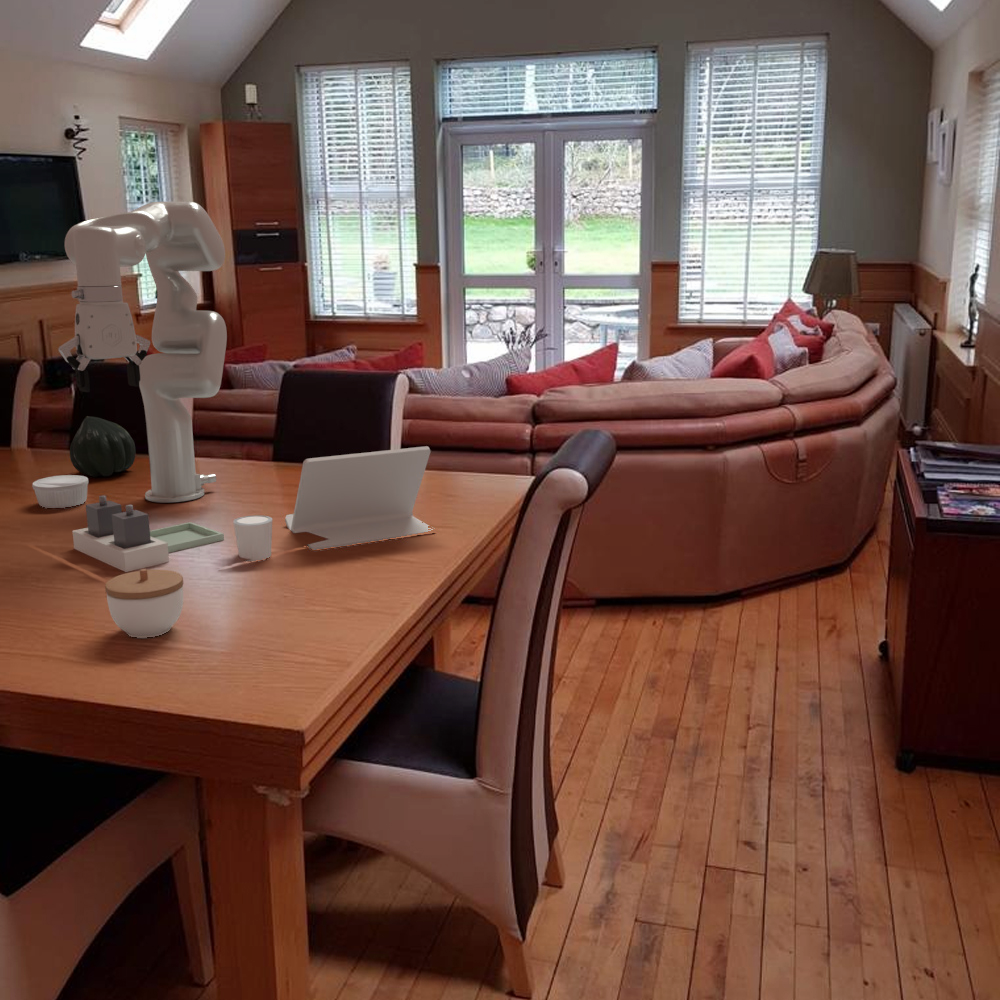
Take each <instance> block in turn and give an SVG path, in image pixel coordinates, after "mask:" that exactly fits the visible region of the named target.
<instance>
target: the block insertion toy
mask: <svg viewBox="0 0 1000 1000" xmlns="http://www.w3.org/2000/svg"><path fill="white" fill-rule="evenodd" d="M98 498H99V502H94V503H89V504H85V510H86V511H85V512H86V521H87V527H85V528H80V529H74V530H72V538H73V549H74V550H76V551H78V552H81V553H83V554H85V555H87V556H89V557H92V558H94V559H96V560H99V561H100V562H103V563H104V564H107V565H109V566H112V567H114V568H115V569H118V570H121V571H123V572H125V573H129V572H134V571H138V570H141V569H146V568H149V567H153V566H157V565H161V564H166V563H169V562H170V558H169V557H170V555H169V553H168V543H166V542H164V541H161V540H159V539H156V538H153V537H151V536H150V539H151V543H149V544H145V545H140V546H136V547H131V548H127V549H123V548H121V547H118V546H116V545H115V543H114V533H113V523H112V514H117V513H122V504H120V503H117V502H115V501H112V500H107V495H104V494H103V495H99V496H98Z"/></svg>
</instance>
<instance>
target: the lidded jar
mask: <svg viewBox="0 0 1000 1000" xmlns="http://www.w3.org/2000/svg"><path fill="white" fill-rule="evenodd" d="M104 585H105V586H104V587H105V588H104V589H105V594H106V600H107V605H108V606H107V607H108V610H109V612H110V617H111V618H112V620H113V622H114V623H115V624H116V626H117V627H118V628H119V629H120V630H122V631H123V632H125V633H126V635H127V634H128V635H129V636H128V635H127V636H128V637H130V636H131V638H132V637H137V638H136V639H148V638H147V637H153V638H156V637H155V636H158V637H160V636H159V635H161V636H163V635H162V634H164V633H166V632H168V631H169V630H170V629H171V628H172V627H174V625H175V624H176V622H177V621H178V620H179V617H180V616H181V614H182V612H183V611H182V610H183V605H184V577H183V575H182V574H181V573H179V572H177V571H174V570H168V569H147V568H141V569H139V570H134V571H129V572H125V573H121V574H120V575H116V576H114V577H111V578H110V579H109V580H108V581H107V582H106V583H105V584H104ZM170 631H171V630H170ZM170 631H169V632H170ZM169 632H168V633H169ZM166 634H167V633H166ZM164 635H165V634H164Z"/></svg>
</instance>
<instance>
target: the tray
mask: <svg viewBox="0 0 1000 1000" xmlns="http://www.w3.org/2000/svg"><path fill="white" fill-rule="evenodd" d="M150 536H151V537H153V538H156V539H159V540H161V541H164V542H166V543H168V554H169V553H170V554H171V553H174V552H179V551H183V550H187V549H192V548H196V547H200V546H203V545H204V546H205V545H207V544H208V545H209V544H213V543H216V542H221V541H224V540H225V534H224V533H223V532H220V531H217V530H215V529H212V528H209V527H207V526H203V525H202V524H201V525H200V524H198V523H195V522H191V521H190V522H189V521H188V522H185V523H184V522H183V523H180V524H175V525H171V526H165V527H162V528H156V529H152V530H151V529H150Z"/></svg>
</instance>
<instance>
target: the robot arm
mask: <svg viewBox="0 0 1000 1000" xmlns="http://www.w3.org/2000/svg"><path fill="white" fill-rule="evenodd" d="M64 250H65V253H66V256H67V258H68V260H70V261H71V263H72V264H74V265H75V269H76V279H77V286H76V289H75V290H72V291H71V293H70V294H71V297H72V299H77V300H78V302H79V303H78V304H76V306H75V314H74V317H75V318H74V336H73V338H71V339H69V340H68V341H66V342H65V343H63V344H61V345H60V346H58V349H57V350H58V352H59V353H60V355H61V356H62V357H63V359H64V362H65V363H66V364H68V365H69V366H70V367H72V369H73V370H74V371H75V379H76V382H75V383H76V386H77V388H78V390H79V392H84V393H90V392H91V386H90V385H91V384H90V376H89V375H90V373H89V371H88V370H87V369H86V368H87V366H88V364H90V362H91V360H107V359H108V360H109V359H119V358H124V359H125V360H126V361H127V362H128V364H126V373H127V374H126V375H127V384H128V385H129V386H130V387H134V388H135V387H136V388H138V387H139V390H140V393H141V397H142V403H143V406H144V407H143V409H144V415H145V423H146V424H145V425H146V436H147V437H146V439H147V448H148V460H149V461H148V462H149V471H150V482H151V483H150V485H151V489H148V490H147V491H146V492H145V494H144V496H145V500H146V501H149V502H154V503H162V504H165V503H170V504H171V503H181V502H187V501H192V500H196V499H197V500H198V499H200V498H202V497H203V496H204V495H205V488H203V487H202V486H204V485H205V484H212V483H216V482H217V476H216V474H215V473H209V474H199V473H197V471H196V461H195V449H194V435H193V422H192V421H193V420H192V416H191V413H190V411H189V410H188V408H187V407H186V405H185V404H184V403H183V401H181V399H183V398H184V399H185V398H187V399H189V398H190V399H191V398H192V399H193V398H194V399H195V398H196V399H198V398H199V399H201V398H202V399H207V398H212V397H214V396H216V395H217V394H218V392H219V391H220V388H221V385H222V378H223V372H224V363H225V357H226V349H227V342H228V341H227V340H228V339H227V338H228V335H227V334H228V333H227V326H226V322H225V320H224V318H223V317H222V315H221V314H219V312H216V311H213V310H198V309H197V305H198V295H197V292H196V291H195V289H194V287H193V286H192V285H191V284H190V283H189V281H187V279H186V278H184V277H183V276H182V274H181V273H180V272H211V271H212V272H213V271H216V270H219V269H220V268H221V267H222V266H223V265H224V263H225V260H226V248H225V244H224V241H223V239H222V236H221V235H220V233H219V231H218V229H217V227H216V225H215V224H214V222H213V220H212V218H211V217H210V215H209V214H208V213H207V211H206V210H205V209H204V207H202V206H201V205H200V204H199V203H197V202H195V201H154V202H149V203H147V204H146V203H145V204H144V205H142V206H140V207H138V208H135V209H133V210H130V211H128V212H120V213H116V214H113V215H108V216H103V217H98V218H97V217H96V218H92V219H88V220H84V221H81V222H79V223H77V224H74V225H73V226H71V227H70V228H69V230H68V231H67V232H66V234H65V238H64ZM145 257H146V261H147V264H148V268H149V271H150V273H151V276H152V278H153V281H154V285H155V287H156V292H157V295H156V296H157V297H156V303H155V310H154V317H153V322H152V327H151V341H150V340H149V339H148V338H144V337H143V336H141V335H138V334H136V330H135V325H134V321H133V315H132V313H131V309H130V306H129V303H128V302H124V297H123V288H122V276H121V268H126V267H130V268H131V267H134V266H137V265H139V264H140V263H141V262H142V261H143V260H144V258H145ZM151 342H152V345H153V347H154V348H155V349H156V350H157V351H158V352H160V353H152V354H148V350H149V348H150V345H151ZM137 344H138V345H139V348H138V345H137ZM74 348H75V351H76V355H77V357H76V358H75V357H74V356H73V355H72V352H71V350H73V349H74Z"/></svg>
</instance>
